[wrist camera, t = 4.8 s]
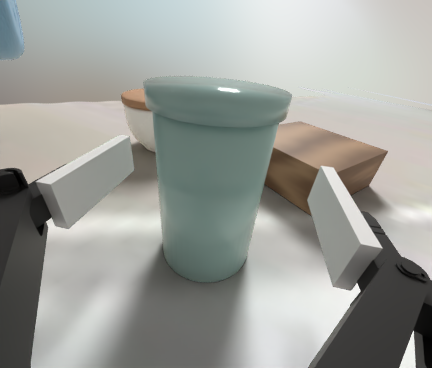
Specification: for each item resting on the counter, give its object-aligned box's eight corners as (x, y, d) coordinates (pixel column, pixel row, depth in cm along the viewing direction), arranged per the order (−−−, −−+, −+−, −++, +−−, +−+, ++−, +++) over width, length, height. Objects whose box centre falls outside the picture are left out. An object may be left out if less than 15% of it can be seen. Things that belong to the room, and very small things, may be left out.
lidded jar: (194, 162, 30) (196, 92, 25) (118, 157, 30) (104, 84, 25) (198, 136, 39) (201, 81, 34) (140, 132, 39) (134, 75, 34)
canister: (145, 231, 18) (124, 75, 12) (217, 205, 22) (231, 76, 16) (186, 308, 13) (188, 107, 7) (270, 257, 17) (323, 98, 11)
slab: (234, 164, 31) (239, 130, 28) (291, 149, 37) (300, 121, 35) (312, 216, 22) (330, 175, 19) (368, 185, 28) (388, 151, 26)
